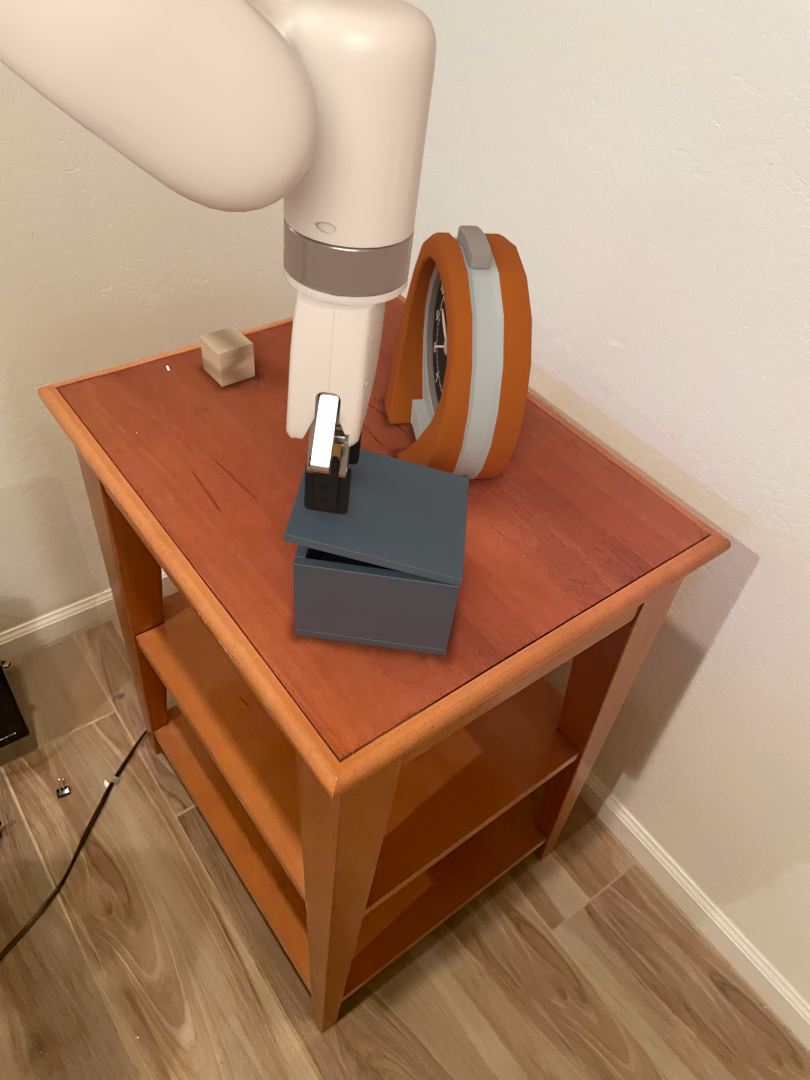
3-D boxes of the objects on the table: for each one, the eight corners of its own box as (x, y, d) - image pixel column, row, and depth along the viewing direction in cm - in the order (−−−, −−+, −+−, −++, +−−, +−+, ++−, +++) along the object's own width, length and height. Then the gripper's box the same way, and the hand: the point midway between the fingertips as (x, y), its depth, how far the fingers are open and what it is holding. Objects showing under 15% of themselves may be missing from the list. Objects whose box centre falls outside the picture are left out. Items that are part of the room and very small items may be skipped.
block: (222, 387, 84) (218, 353, 81) (203, 369, 86) (199, 335, 83) (255, 376, 86) (253, 343, 83) (236, 358, 88) (233, 325, 85)
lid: (282, 541, 53) (292, 492, 49) (313, 443, 61) (324, 394, 57) (459, 586, 54) (481, 542, 51) (466, 484, 62) (485, 440, 59)
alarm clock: (378, 380, 88) (394, 184, 72) (458, 379, 90) (490, 187, 74) (409, 506, 73) (438, 294, 57) (504, 502, 75) (558, 295, 59)
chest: (294, 635, 61) (292, 563, 54) (320, 537, 69) (321, 465, 63) (445, 656, 61) (460, 587, 54) (452, 555, 69) (467, 485, 63)
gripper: (310, 191, 49) (305, 412, 62) (249, 311, 37) (258, 556, 50) (420, 208, 50) (392, 426, 62) (395, 333, 37) (366, 572, 50)
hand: (332, 481), depth 56 cm, fingers closed on lid, 5 cm apart
